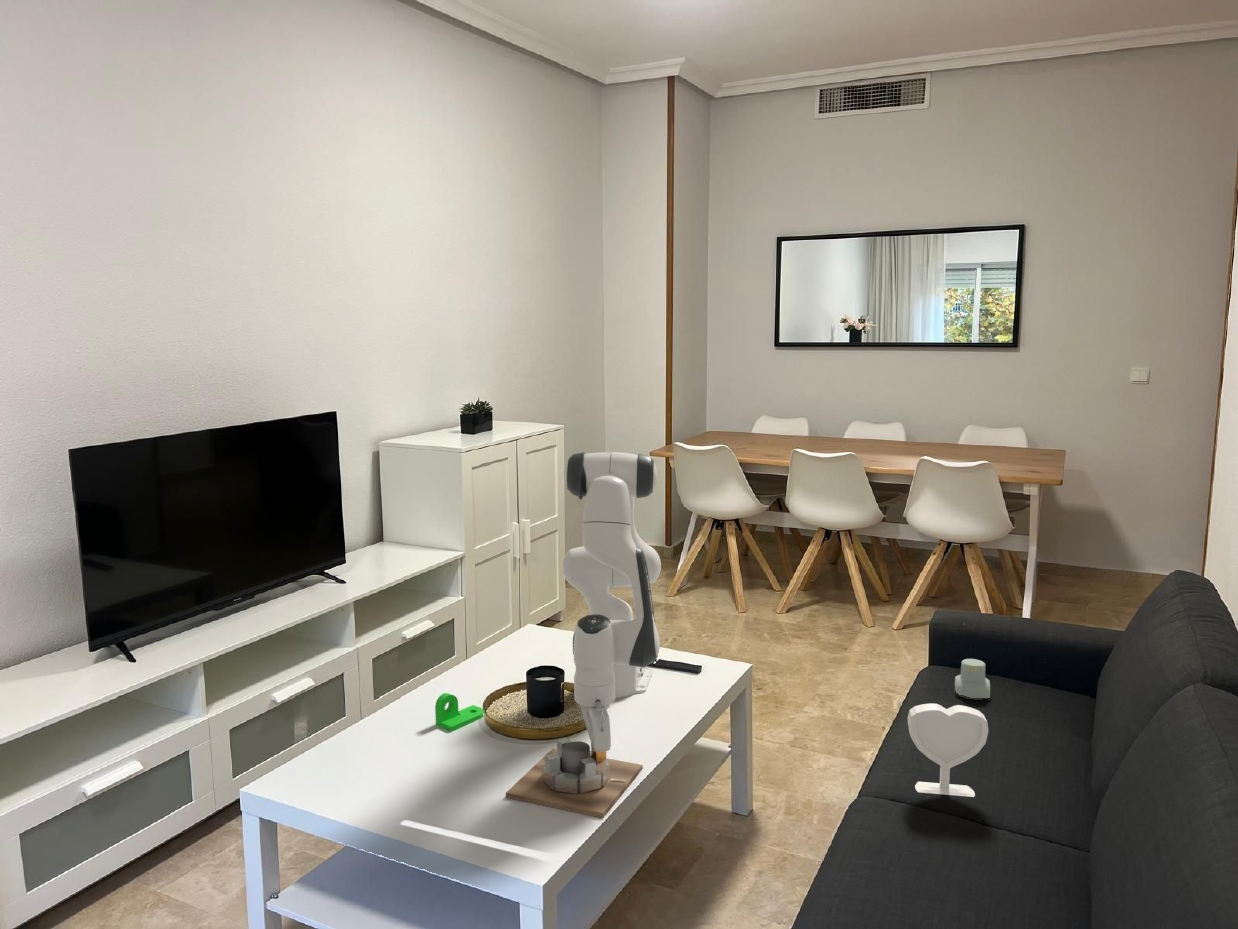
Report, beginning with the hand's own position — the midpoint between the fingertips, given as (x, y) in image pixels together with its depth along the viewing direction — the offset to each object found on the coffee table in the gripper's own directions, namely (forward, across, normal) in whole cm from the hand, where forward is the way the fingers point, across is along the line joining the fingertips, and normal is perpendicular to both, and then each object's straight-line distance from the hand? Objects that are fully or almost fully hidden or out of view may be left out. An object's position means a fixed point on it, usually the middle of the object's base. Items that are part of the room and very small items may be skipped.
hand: (595, 751), depth 201 cm
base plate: (+5, -4, +5) cm, 8 cm away
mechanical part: (+6, +32, +28) cm, 43 cm away
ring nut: (+4, -4, +5) cm, 7 cm away
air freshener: (+7, +22, -102) cm, 105 cm away
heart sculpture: (+5, -20, -71) cm, 74 cm away
